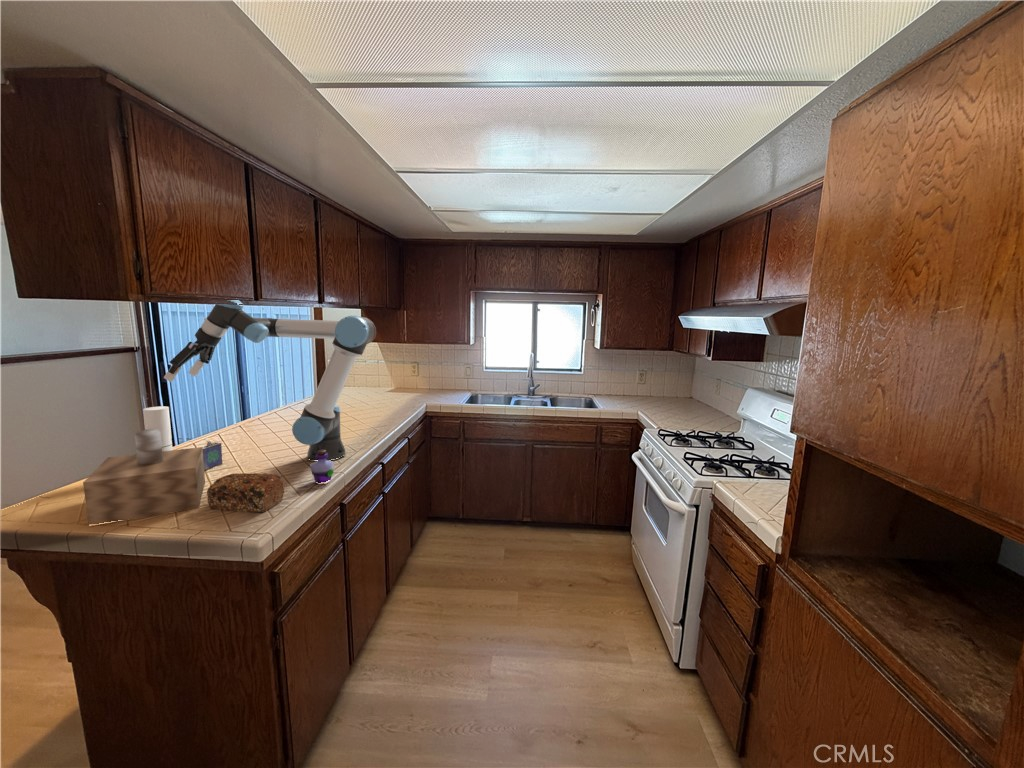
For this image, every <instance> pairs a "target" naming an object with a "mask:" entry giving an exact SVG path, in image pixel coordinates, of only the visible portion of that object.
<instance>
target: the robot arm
mask: <svg viewBox="0 0 1024 768" xmlns="http://www.w3.org/2000/svg"><path fill="white" fill-rule="evenodd" d="M227 301H231V302H233V303H237V305H227V304H216V303H215V305H213V308H212V309H211V311H210V312H209V314H208V315H207V316H206V318H205V317H204V319H203V322H202V324H201V327H199V328H198V329H197V331H196V332H195V334H194V337H195V338H196V341H194V342H193V341H189V342H188V343H187V345H186V346H185V347H184V348H183V349H181V351H180V352H178V354H176V355H175V356H174V357H173V358H172V359H171V360H170V361H169V364H171V366H170V368H169V369H167V372H166V373H165V375H164V376H163V379H165V380H167V381H168V382H170V383H172V382H173V381H174V379H175V378H176V377H177V375H178V373H179V372H180V371H181V369H182V367H183V366H184V365H185V364H186V363H187V362H188V361H190V360H191V359H192V358H193V357H195V356H196V357H197V356H198V355H199V359H198V358H197V359H196V361H194V363H193V365H192V367H191V368H190V370H189V371H188V374H190V375H191V376H193V377H197V376H198V374H199V372H200V371H201V370H202V368H203V367H204V366H205V364H209V363H210V361H211V360H212V358H213V355H214V352H215V348H216V347H217V345H218V344H219V342H220V341H221V340H222V338H223V337H224V335H226V333H227V331H228V329H229V328H231V329H233V330H234V331H236V332H237V333H239V334H240V335H241V336H243V337H244V338H246V339H247V340H249V341H251V342H252V343H254V344H255V343H256V344H258V343H260V342H263V341H264V340H265V339H266V338H267V337H269V338H297V339H300V338H301V339H326V340H327V339H329V340H330V339H331V340H333V341H332V346H333V349H334V350H333V351H332V354H331V356H330V358H329V360H328V362H327V365H326V367H325V370H324V373H323V375H322V377H321V379H320V382H319V383H318V386H317V389H316V390H315V393H314V395H313V397H312V400H311V402H310V403H307V404H305V406H304V407H303V410H302V413H301V415H300V416H299V417H298V418H297V419H296V420H295V421H294V422H293V424H292V428H291V431H292V435H293V436H294V439H295V440H296V441H297V442H298V443H300V444H303V445H308V446H309V447H308V449H307V455H306V456H307V460H308V459H310V460H318V459H316V454H317V451H319V450H326V453H328V458H326V460H331V459H336V458H339V457H341V456H343V455H345V456H346V448H345V445H344V443H343V441H342V438H341V436H342V435H341V411H340V406H339V405H337V403H338V400H339V399H340V395H341V394H342V391H343V389H344V386H345V385H346V382H347V380H348V378H349V376H350V373H351V371H352V368H353V366H354V364H355V361H356V360H357V358H358V357H361V356H362V355H363V354H364V351H365V349H366V347H367V345H369V344H370V343H372V342H373V341H374V339H376V336H377V328H376V326H375V324H374V322H373V321H372V320H371V319H369V318H368V317H365V316H357V315H348V316H345V317H343V318H341V319H340V320H321V319H295V318H293V319H291V318H272V317H271V318H270V317H264V318H263V317H252V316H251V315H250V314H248V313H247V312H245V311H244V310H243V309H244V304H243V302H241V301H240V300H239V299H238V300H227ZM239 304H243V305H239ZM310 460H309V461H310Z"/></svg>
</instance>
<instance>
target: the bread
mask: <svg viewBox="0 0 1024 768" xmlns="http://www.w3.org/2000/svg"><path fill="white" fill-rule="evenodd" d="M284 487H285V483H284V480H283V478H282V476H280V475H278V474H274V473H259V472H258V473H255V472H253V473H238V472H237V473H231V474H230V473H229V474H227V475H224V476H221V477H218V478H217V479H216V480H214V482H213V483H212V484H210V485H209V487H208V488H207V490H206V496H207V505H208V507H209V509H210V510H212V511H225V512H241V513H242V512H245V513H263V512H266V511H269V510H271V509H273V508H274V507H276V506H277V505H279V504H280V503H282V501H283V500H284V499H283V498H284V494H285V491H284V489H285V488H284ZM279 502H280V503H279ZM278 503H279V504H278ZM273 506H274V507H273Z"/></svg>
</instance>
